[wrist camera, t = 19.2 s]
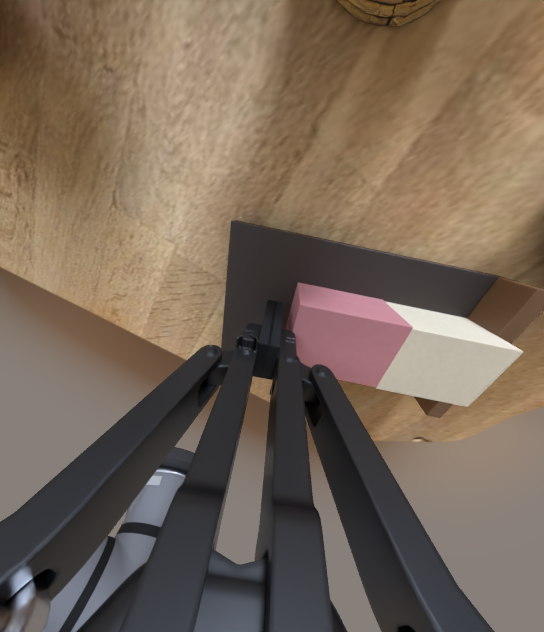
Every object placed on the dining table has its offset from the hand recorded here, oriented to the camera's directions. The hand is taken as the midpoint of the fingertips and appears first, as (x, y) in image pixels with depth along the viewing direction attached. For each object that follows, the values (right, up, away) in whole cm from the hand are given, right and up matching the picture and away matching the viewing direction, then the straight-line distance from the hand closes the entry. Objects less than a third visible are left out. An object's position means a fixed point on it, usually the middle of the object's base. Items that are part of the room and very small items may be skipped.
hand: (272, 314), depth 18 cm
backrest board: (+7, 0, +3) cm, 8 cm away
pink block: (+6, 0, +1) cm, 6 cm away
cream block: (+13, -2, +2) cm, 14 cm away
